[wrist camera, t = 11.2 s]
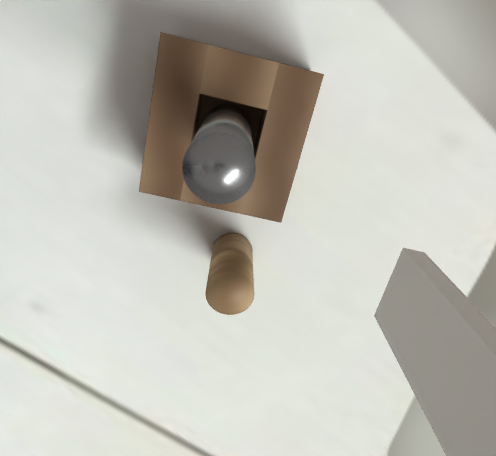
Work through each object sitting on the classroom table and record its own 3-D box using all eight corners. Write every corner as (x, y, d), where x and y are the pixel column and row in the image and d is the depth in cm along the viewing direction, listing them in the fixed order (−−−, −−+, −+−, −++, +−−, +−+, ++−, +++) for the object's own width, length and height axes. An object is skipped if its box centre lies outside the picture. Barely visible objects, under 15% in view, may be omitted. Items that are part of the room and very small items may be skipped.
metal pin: (200, 145, 35) (176, 195, 22) (209, 98, 34) (189, 124, 21) (244, 155, 36) (246, 211, 23) (255, 110, 34) (263, 142, 21)
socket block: (151, 175, 37) (138, 191, 33) (172, 36, 33) (160, 32, 28) (276, 203, 39) (281, 222, 34) (312, 72, 34) (323, 74, 29)
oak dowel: (209, 264, 41) (201, 309, 34) (217, 229, 40) (210, 268, 32) (247, 272, 41) (248, 318, 34) (256, 237, 40) (259, 278, 33)
